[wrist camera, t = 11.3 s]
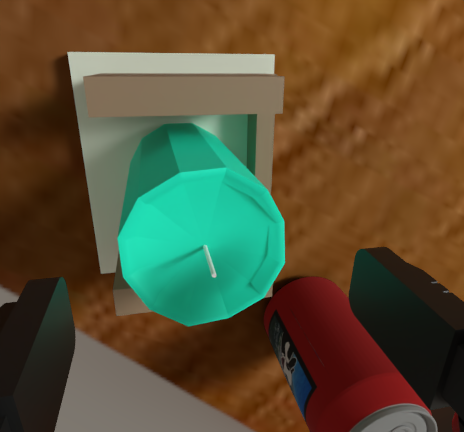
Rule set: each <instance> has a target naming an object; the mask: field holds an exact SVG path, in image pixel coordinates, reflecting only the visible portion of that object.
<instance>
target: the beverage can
mask: <svg viewBox="0 0 464 432" xmlns="http://www.w3.org/2000/svg"><path fill="white" fill-rule="evenodd" d="M264 327H265V330H266V333H267V335H268V337H269V340H270V342H271V345H272V347H273V349H274V352H275V354H276V356H277V359H278V361H279V363H280V365H281V368H282V370H283V372H284V375H285V377H286V379H287V381H288V384H289V386H290V388H291V390H292V393H293V395H294V397H295V399H296V402H297V404H298V406H299V408H300V411H301V413H302V415H303V417H304V419H305V421H306V424H307V426H308V428H309V430H310V432H437V425H436V422H435V420H434V419H433V417H432V415H431V410H429V409H428V407H427V406H426V405H425V404H424V402H423V401H422V400H421V399H420V397H419V396H418V395H417V394H416V392H415V391H414V390H413V389H412V387H411V386H410V385H409V384H408V382H407V381H406V380H405V379H404V377H403V376H402V375H401V374H400V372H399V371H398V370H397V369H396V367H395V366H394V365H393V363H392V362H391V361H390V360H389V358H388V357H387V356H386V355H385V353H384V352H383V351H382V350H381V348H380V347H379V346H378V345H377V343H376V342H375V341H374V340H373V338H372V337H371V336H370V335H369V333H368V332H367V331H366V330H365V328H364V327H363V326H362V325H361V323H360V322H359V321H358V319H357V318H356V317H355V316H354V314H353V312H352V310H351V307H350V303H349V298H348V297H347V296H346V295H345V294H344V293H343V292H342V291H341V289H340V288H339V287H338V286H337V285H336V284H335V283H333V282H332V281H330V280H328V279H325V278H322V277H304V278H300V279H297V280H295V281H292V282H290V283H288V284H287V285H285V286H284V287H282V288H281V289H280V290H279V291H278V292H277V293H276V294H275V295H274V296H273V297H272V298H271V300H270V302H269V303H268V305H267V307H266V310H265V314H264Z"/></svg>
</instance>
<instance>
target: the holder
mask: <svg viewBox="0 0 464 432" xmlns="http://www.w3.org/2000/svg"><path fill="white" fill-rule="evenodd" d="M67 53H68V60H69V66H70V73H71V79H72V86H73V93H74V99H75V106H76V112H77V119H78V126H79V132H80V139H81V145H82V152H83V159H84V165H85V172H86V178H87V185H88V192H89V198H90V205H91V211H92V218H93V225H94V231H95V238H96V244H97V251H98V258H99V264H100V271H101V274H104V273H114V272H115V279H114V286H113V295H114V302H115V310H116V316H121V315H129V314H137V313H145V312H153V311H152V310H149V308H148V307H147V306H146V305H145V304H144V302H143V301H142V300H141V299H140V298H139V296H138V295H137V294H136V293H135V291H134V290H133V289H132V288H131V287H130V285H129V284H128V283H127V282H126V280H125V279H124V278H123V274H122V267H121V260H120V254H119V247H118V240H117V237H118V231H119V226H120V220H121V214H122V208H123V202H124V196H125V191H126V185H127V179H128V173H129V167H130V162H131V160H132V158H133V156H134V154H135V151H136V149H137V147H138V145H139V143H140V141H141V139H142V138H143V137H145V136H146V135H148V134H149V133H151V132H152V131H154V130H156V129H157V128H159V127H160V126H162V125H163V124H169V123H193V124H195V125H197V126H199V127H201V128H203V129H204V130H206V131H208V132H210V133H212V134H213V135H215V136H216V137H217V138H218V139H219V140H220V141H221V142H222V143H223V144H224V145H225V146H226V147H227V148H228V149H229V150H230V151H231V152H232V153H233V154H234V155H235V156H236V157H237V158H238V159H239V161H240V162H241V163H242V164H243V165H244V166H245V167H246V168H247V169H248V170H249V171H250V172H251V173H252V174H253V175H254V176H255V177H256V178H257V179H258V180H259V181H260V182H261V183H262V184H263V185H264V186H265V187H266V188H267V189H268V191H269V193H270V195H271V181H272V160H273V140H274V119H275V114H279V113H282V112H283V94H284V76H277V74H274V59H275V55H273V54H191V53H109V52H67ZM272 289H273V284H272V285H271V287H270V289H269V290H268V292H267V294H266V295H265V297H264V298H266V297H272Z"/></svg>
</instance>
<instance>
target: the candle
mask: <svg viewBox="0 0 464 432" xmlns="http://www.w3.org/2000/svg"><path fill="white" fill-rule="evenodd" d="M117 240H118V247H119V254H120V260H121V267H122V274H123V278H124V279H125V280H126V282H127V283H128V284H129V285H130V287H131V288H132V289H133V290H134V291H135V293H136V294H137V295H138V296H139V298H140V299H141V300H142V301H143V302H144V304H145V305H146V306H147V307H148V308H149V310H152V311H154V312H156V313H159V314H161V315H163V316H165V317H168V318H170V319H172V320H175V321H177V322H179V323H182V324H184V325H186V326H193V325H198V324H203V323H208V322H213V321H217V320H222V319H227V318H230V317H232V316H233V315H235V314H237V313H239V312H240V311H242V310H244V309H245V308H247V307H249V306H251V305H252V304H254V303H256V302H257V301H259V300H261V299H262V298H264V297H265V295H266V294H267V292H268V290H269V289H270V287H271V285H272V284H273V282H274V280H275V279H276V277H277V275H278V274H279V272H280V271H281V269H282V267H283V266H284V264H285V238H284V220H283V218H282V216H281V214H280V212H279V210H278V208H277V206H276V204H275V203H274V201H273V199H272V197H271V195H270V193H269V191H268V189H267V188H266V187H265V186H264V185H263V184H262V183H261V182H260V181H259V180H258V179H257V178H256V177H255V176H254V175H253V174H252V173H251V172H250V171H249V170H248V169H247V168H246V167H245V166H244V165H243V164H242V163H241V162H240V161H239V159H238V158H237V157H236V156H235V155H234V154H233V153H232V152H231V151H230V150H229V149H228V148H227V147H226V146H225V145H224V144H223V143H222V142H221V141H220V140H219V139H218V138H217V137H216V136H215V135H213V134H212V133H210V132H208V131H206V130H204V129H203V128H201V127H199V126H197V125H195V124H193V123H169V124H163V125H162V126H160V127H159V128H157V129H156V130H154V131H152V132H151V133H149V134H148V135H146V136H145V137H143V138H142V139H141V141H140V143H139V145H138V147H137V149H136V151H135V154H134V156H133V158H132V160H131V162H130V167H129V173H128V179H127V185H126V191H125V196H124V202H123V208H122V214H121V220H120V226H119V231H118V237H117Z"/></svg>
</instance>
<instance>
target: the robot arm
mask: <svg viewBox="0 0 464 432" xmlns="http://www.w3.org/2000/svg"><path fill="white" fill-rule="evenodd" d="M349 303H350V307H351V310H352V312H353V314H354V316H355V317H356V318H357V319H358V321H359V322H360V323H361V325H362V326H363V327H364V328H365V330H366V331H367V332H368V333H369V335H370V336H371V337H372V338H373V340H374V341H375V342H376V343H377V345H378V346H379V347H380V348H381V350H382V351H383V352H384V353H385V355H386V356H387V357H388V358H389V360H390V361H391V362H392V363H393V365H394V366H395V367H396V369H397V370H398V371H399V372H400V374H401V375H402V376H403V377H404V379H405V380H406V381H407V382H408V384H409V385H410V386H411V387H412V389H413V390H414V391H415V392H416V394H417V395H418V396H419V397H420V399H421V400H422V401H423V402H424V404H425V405H426V406H427V407H428V409H429V410H433V409H438V408H443V407H448V406H451V407H452V409H453V410H454V411H455V414H454V417H453V420H452V431H453V432H464V302H463V301H462V300H461V299H459V298H458V297H457V296H455V295H454V294H453V293H449V290H448V289H446V288H445V287H444V286H443V285H441V284H440V283H439V284H438V283H437V281H436V280H435V279H434V278H432V277H431V276H430V275H428V274H427V273H426V272H425V271H423V270H421V269H419V268H417V267H415V266H413V265H411V264H409V263H407V262H405V261H404V260H403V259H401V258H400V257H399V256H398V255H396V254H395V253H394V252H393V251H391V250H390V249H389V248H387V247H377V248H366V249H360V250H358V251H357V253H356V256H355V261H354V267H353V273H352V278H351V284H350V290H349ZM74 349H75V327H74V321H73V316H72V311H71V306H70V301H69V296H68V291H67V286H66V282H65V280H64V278H63V277H57V278H46V279H36V280H29V281H28V282H27V284H26V286H25V288H24V290H23V291H22V293H21V295H20V297H19V299H18V301H17V302H12V303H5V304H4V305H2V306H1V307H0V432H54V430H55V426H56V422H57V418H58V414H59V410H60V406H61V402H62V398H63V394H64V390H65V386H66V382H67V378H68V374H69V370H70V366H71V362H72V358H73V354H74Z"/></svg>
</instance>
